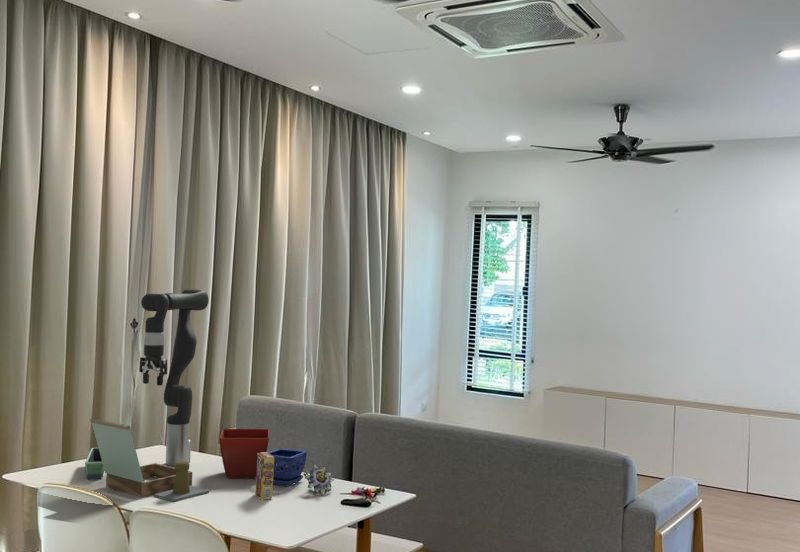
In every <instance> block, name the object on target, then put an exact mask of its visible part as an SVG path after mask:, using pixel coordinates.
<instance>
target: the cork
mask: <svg viewBox="0 0 800 552" xmlns="http://www.w3.org/2000/svg"><path fill="white" fill-rule="evenodd" d="M190 466H191V465H190V463H188V462H186V461H180V462H177V463H176V464H175V466H174V468H175V470H176V476H175V482H174V488H173V493H174V494H187V493H189V492H190V488H189V478H188V471H190V470H189V469H190Z"/></svg>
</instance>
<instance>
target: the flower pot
mask: <svg viewBox="0 0 800 552" xmlns="http://www.w3.org/2000/svg"><path fill="white" fill-rule="evenodd" d="M267 453H269V454H271V455H272V456H273V457H274V472H273V484H275V486H281V485H282V486H281V487H283V486H284V487H290V486H292V485H294V483H295V484H296V483H300V481H302V480H303V478H304V475H302V473H303V471H304V468H305V465H306V462H307V451H305V450H298V449H297V450H296V449H286V448H277V449H275V450H274V449H273V450H271V451H267Z"/></svg>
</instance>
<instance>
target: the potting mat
mask: <svg viewBox="0 0 800 552" xmlns="http://www.w3.org/2000/svg"><path fill="white" fill-rule="evenodd" d="M189 488H190V492H189V493H187V494H174V493H173V490H169V491H165V492H161V493H157V494H154V495H153V497H155V498H158V499H159V498H160V499H161V500H166V501H170V502H173V503H176V502H179V501H182V500H187V499H191V498H194V497H197V496H201V495H206V494H209V493H210V489H205V488H201V487H196V486H193V485H189Z"/></svg>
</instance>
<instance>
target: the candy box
mask: <svg viewBox="0 0 800 552" xmlns="http://www.w3.org/2000/svg"><path fill="white" fill-rule="evenodd" d="M273 472H274V457H273V456H272V455H271V454H269V453H268V451H267V452H261V453H257V469H256V478H255V495H256V496H257V497H258V498H259V499H260V500H262V499H267V500H272V499H273V488H274V485H273ZM271 498H272V499H271ZM262 501H263V500H262Z"/></svg>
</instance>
